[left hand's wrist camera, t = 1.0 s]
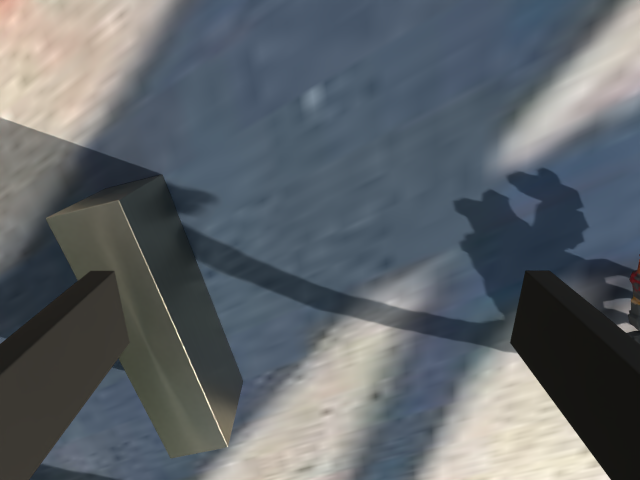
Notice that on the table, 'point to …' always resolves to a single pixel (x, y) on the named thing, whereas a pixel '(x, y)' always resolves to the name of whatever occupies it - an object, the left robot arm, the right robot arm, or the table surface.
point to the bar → (158, 311)
